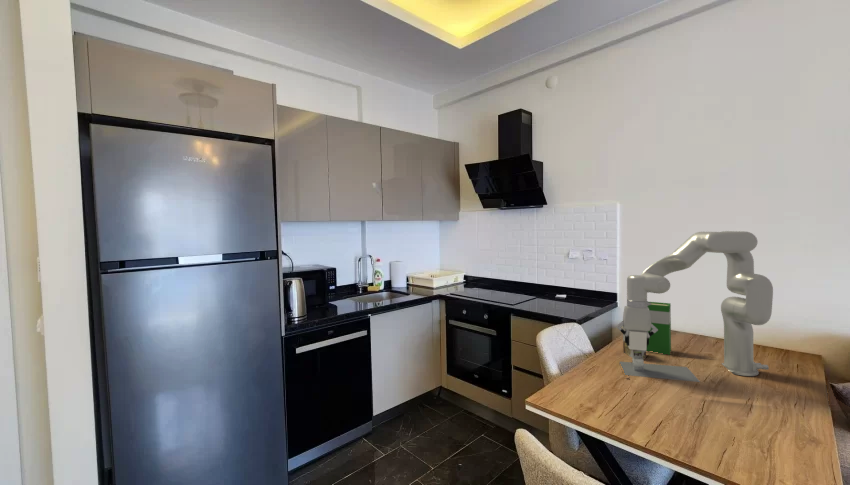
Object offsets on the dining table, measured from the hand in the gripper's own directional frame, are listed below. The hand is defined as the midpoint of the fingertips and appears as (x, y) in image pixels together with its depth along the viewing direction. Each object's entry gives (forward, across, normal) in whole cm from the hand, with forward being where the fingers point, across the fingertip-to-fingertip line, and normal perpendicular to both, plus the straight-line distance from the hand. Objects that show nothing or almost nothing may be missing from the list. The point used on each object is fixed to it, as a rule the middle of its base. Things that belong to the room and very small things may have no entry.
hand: (636, 345), depth 156 cm
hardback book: (+12, -12, -34) cm, 38 cm away
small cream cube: (+1, 0, 0) cm, 1 cm away
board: (+12, -8, 0) cm, 14 cm away
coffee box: (+12, -3, -19) cm, 23 cm away
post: (+10, -1, 0) cm, 11 cm away
